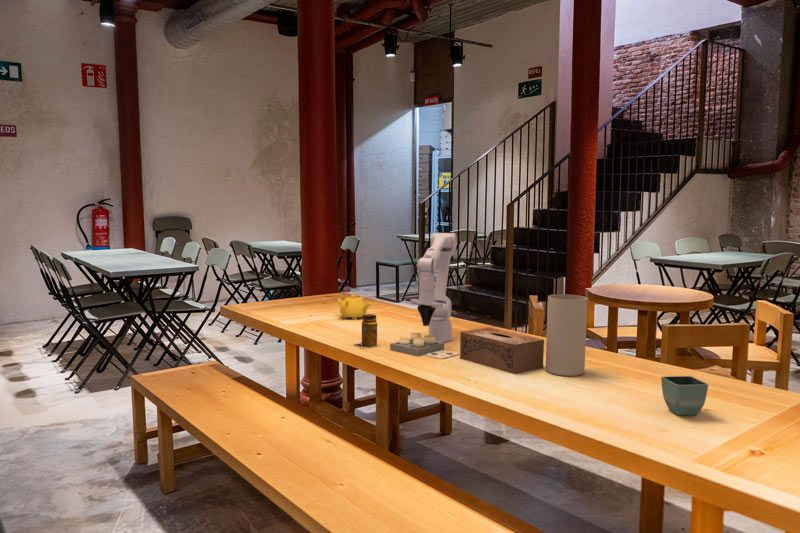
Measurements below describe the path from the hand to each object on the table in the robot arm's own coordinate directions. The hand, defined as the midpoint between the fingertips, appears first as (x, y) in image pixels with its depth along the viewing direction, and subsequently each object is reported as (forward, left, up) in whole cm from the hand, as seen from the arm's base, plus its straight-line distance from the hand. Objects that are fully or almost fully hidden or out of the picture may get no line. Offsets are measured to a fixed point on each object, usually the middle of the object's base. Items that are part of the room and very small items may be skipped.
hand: (426, 325), depth 239 cm
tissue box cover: (-3, +31, -10) cm, 33 cm away
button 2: (-1, -6, -7) cm, 9 cm away
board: (+2, -2, -9) cm, 10 cm away
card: (+2, +10, -9) cm, 14 cm away
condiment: (+11, -21, -10) cm, 25 cm away
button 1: (+6, -6, -8) cm, 11 cm away
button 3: (+6, +1, -7) cm, 9 cm away
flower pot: (+8, +96, -10) cm, 97 cm away
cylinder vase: (-8, +53, -10) cm, 55 cm away
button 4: (-1, +1, -7) cm, 7 cm away
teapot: (-26, -68, -10) cm, 73 cm away
